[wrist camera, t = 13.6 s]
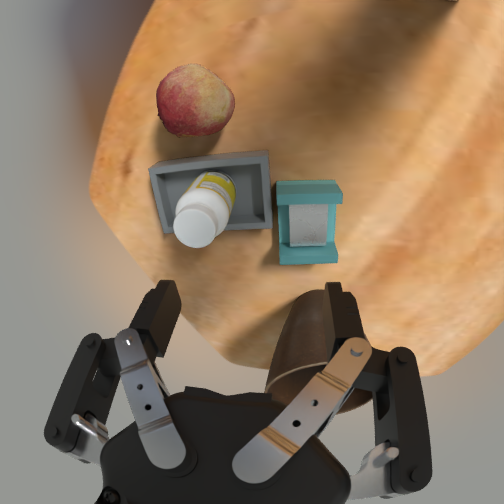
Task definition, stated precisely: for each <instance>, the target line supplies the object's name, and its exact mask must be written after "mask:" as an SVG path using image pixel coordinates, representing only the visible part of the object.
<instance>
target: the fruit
mask: <svg viewBox="0 0 504 504" xmlns="http://www.w3.org/2000/svg"><path fill="white" fill-rule="evenodd" d="M156 98H157V108H158V116H160V119H161V120H162V121H163V124H164V127H165V128H166V129H167V130H168V131H169V132H170V133H172V134H175V135H176V136H177V137H179V138H180V137H193V136H204V135H210V134H213V133H216V132H218V131H219V130H221V129H222V128H223V127H224V126H225V125H226V124H227V123H228V121H229V120H230V118H231V117H232V114H233V111H234V107H235V99H234V95H233V93H232V91H231V89H230V88H229V87H228V86H227V85H226V84H225V83H224V82H223V81H222V80H221V79H220V78H219V77H218V76H217V75H215V74H214V73H213V72H211V71H210V70H209V69H207V68H205V67H203V66H201V65H199V64H187V65H184V66H179V67H177V68H175V69H174V70H173V71H171V72H170V73H168V75H167V76H166V77H165V78H164V79H163V80H162V81H161V82H160V84H159V86H158V88H157V93H156Z"/></svg>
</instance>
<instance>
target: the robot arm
mask: <svg viewBox="0 0 504 504" xmlns="http://www.w3.org/2000/svg"><path fill="white" fill-rule="evenodd" d="M448 1H457V0H448ZM180 311H181V299H180V296H179V293H178V290H177V287H176V284H175V281H173V280H160V281H159V282H158V284H157V286H156V288H155V289H151V290H150V291H149V292H148V293H147V294H146V295H145V297H144V298H143V301H142V303H141V304H140V306H139V309H138V310H137V312H136V314H135V316H134V318H133V320H132V322H131V324H130V326H129V328H127V329H124V330H122V331H120V332H119V333H118V334H117V336H116V337H115V338H109V339H102V338H101V336H100V335H99V334H96V333H91V334H88V335H87V336H85V337H84V338H83V339H82V341H81V343H80V345H79V347H78V349H77V351H76V353H75V355H74V358H73V360H72V362H71V364H70V366H69V368H68V370H67V373H66V375H65V377H64V380H63V382H62V384H61V387H60V389H59V392H58V394H57V396H56V399H55V401H54V405H53V407H52V409H51V412H50V415H49V417H48V420H47V423H46V426H45V429H44V437H45V439H46V441H47V442H48V443H49V444H50V445H52V446H54V447H55V448H57V449H59V450H60V451H61V452H63V453H65V454H66V455H68V456H70V457H72V458H74V459H78V460H80V461H82V462H84V463H94V464H96V465H99V466H101V469H102V475H103V490H102V492H101V494H100V496H99V498H98V499H97V501H96V502H95V503H94V504H345V502H346V501H347V500H355V499H363V498H371V497H378V496H379V497H381V498H385V499H388V498H393V497H397V496H401V495H405V494H409V493H412V492H416V491H419V490H421V489H423V488H424V487H425V486H426V485H427V484H428V483H429V482H430V480H431V477H432V459H431V446H430V436H429V429H428V420H427V414H426V407H425V401H424V395H423V390H422V385H421V380H420V375H419V370H418V366H417V361H416V357H415V355H414V353H413V352H412V351H411V350H410V349H408V348H406V347H396V348H394V349H392V350H391V352H387V351H382V350H378V349H375V348H373V347H372V346H371V345H370V344H369V342H367V341H366V339H365V336H364V331H363V327H362V323H361V318H360V315H359V310H358V306H357V302H356V299H355V297H354V296H353V295H352V294H351V293H350V292H343V291H342V287H341V283H340V282H326V284H325V291H324V298H323V306H322V313H323V323H324V332H325V341H326V352H327V363H328V365H327V366H326V367H325V368H324V370H323V371H322V372H318V373H317V374H316V375H315V376H314V377H313V378H312V379H311V380H310V382H309V383H308V384H307V385H306V386H305V387H304V389H303V390H302V391H301V392H300V393H299V394H298V395H297V396H296V398H295V399H294V400H293V401H292V402H291V403H290V404H289V405H287V404H285V403H283V402H281V401H278V400H275V399H272V393H252V392H249V393H243V394H237V395H230V396H226V395H222V394H219V393H216V392H213V391H211V390H208V389H203V388H196V387H188V386H186V387H185V391H184V392H179V393H176V394H173V395H170V393H169V392H168V390H167V388H166V386H165V384H164V381H163V379H162V377H161V375H160V372H159V370H158V368H157V366H156V363H155V359H156V357H164V355H165V352H166V349H167V346H168V344H169V341H170V338H171V335H172V333H173V330H174V327H175V324H176V322H177V319H178V317H179V314H180ZM96 371H97V372H96ZM95 373H96V375H95ZM94 376H95V377H94ZM120 377H121V379H122V383H123V386H124V389H125V392H126V395H127V398H128V401H129V404H130V407H131V410H132V413H133V415H134V418H135V421H134V422H133V423H132V424H130V425H129V426H128V427H126V428H125V429H123V430H122V431H121V432H119V433H118V434H117V435H115V436H114V437H112V438H111V439H109V437H108V430H107V428H106V426H105V424H106V421H107V417H108V414H109V411H110V408H111V404H112V401H113V398H114V395H115V392H116V389H117V386H118V383H119V380H120ZM93 378H94V380H93ZM354 388H358V389H363V390H368V391H372V395H373V407H374V423H375V448H373V449H372V450H371V451H370V452H368V453H367V454H366V455H365V456H364V458H363V460H362V463H361V467H360V470H359V471H358V473H357V474H355V475H352V476H350V475H349V473H348V471H347V470H346V469H345V467H344V466H343V465H342V464H341V463H340V462H339V461H338V460H337V459H336V458H335V457H334V456H333V455H332V453H331V452H329V450H328V449H327V448H326V447H325V445H324V444H323V443H322V442H321V441H320V440H319V439H318V437H319V436H320V435H321V433H322V432H323V431H324V430H325V429H326V427H327V426H328V425H329V423H330V422H331V420H332V419H333V418H334V416H335V415H336V413H337V412H338V411H339V409H340V408H341V407H342V405H343V404H344V402H345V401H346V400H347V398H348V397H349V395H350V394H351V392H352V391H353V390H354Z"/></svg>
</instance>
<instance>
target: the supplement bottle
mask: <svg viewBox="0 0 504 504" xmlns="http://www.w3.org/2000/svg"><path fill="white" fill-rule="evenodd" d="M235 198H236V186H235V184H234V182H233V180H232V179H231V177H230V176H228V175H227V174H226V173H224V172H221V171H218V170H209V171H205V172H203V173H201V174H200V175H199V176H198V177H197V178H196V179H195V180H194V181H193V182H192V184H191V185H190V186H189V188H188V189H187V190H186V191H185V193H184V194H183V195H182V196H181V198H180V199H179V201H178V203H177V206H176V211H175V214H176V218H175V220H174V224H173V229H174V233H175V235H176V237H177V238H178V239H179V241H181V242H182V243H183V244H185V245H186V246H189V247H192V248H202V247H205V246H207V245H209V244H210V243H211V242H212V241H213V240H214V238H215V237H216V236H218V235H219V234H220V233H221V232H222V231H223V230H224V229H225V227H226V225H227V223H228V220H229V217H230V214H231V211H232V208H233V205H234V202H235Z"/></svg>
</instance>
